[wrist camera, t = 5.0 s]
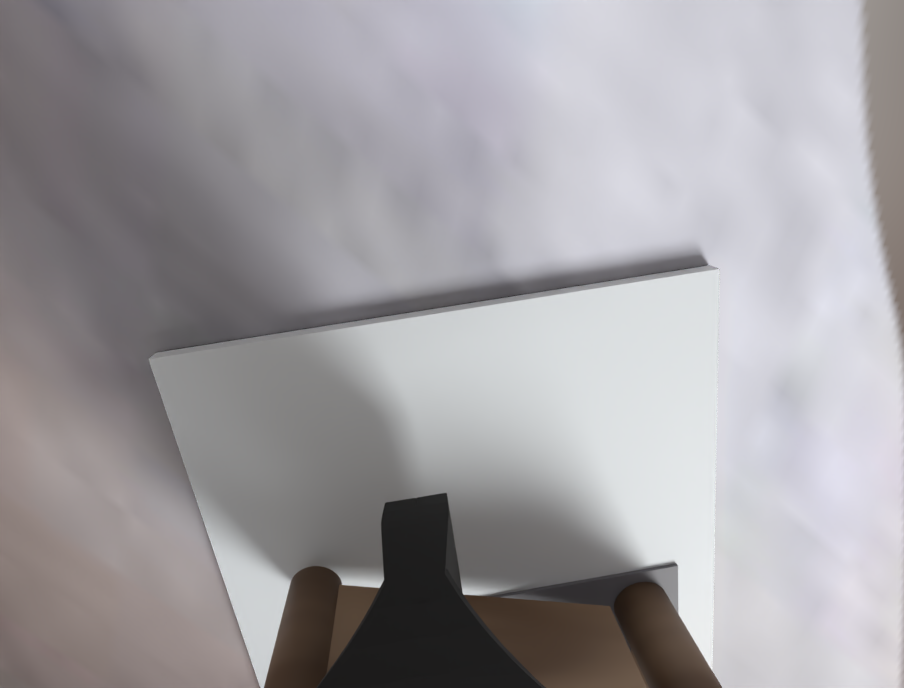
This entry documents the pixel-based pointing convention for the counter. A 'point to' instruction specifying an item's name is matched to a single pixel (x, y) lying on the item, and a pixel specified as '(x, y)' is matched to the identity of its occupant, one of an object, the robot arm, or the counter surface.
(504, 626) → the panel
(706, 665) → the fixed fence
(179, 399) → the card
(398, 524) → the robot arm
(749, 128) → the counter surface
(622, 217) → the counter surface
